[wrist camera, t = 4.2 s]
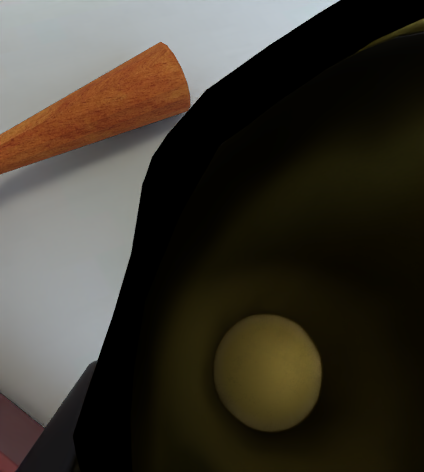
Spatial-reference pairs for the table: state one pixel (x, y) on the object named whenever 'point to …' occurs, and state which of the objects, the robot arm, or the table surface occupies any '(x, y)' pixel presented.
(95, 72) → the table surface
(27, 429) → the book
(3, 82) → the table surface
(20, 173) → the table surface
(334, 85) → the vase
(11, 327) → the table surface
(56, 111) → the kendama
